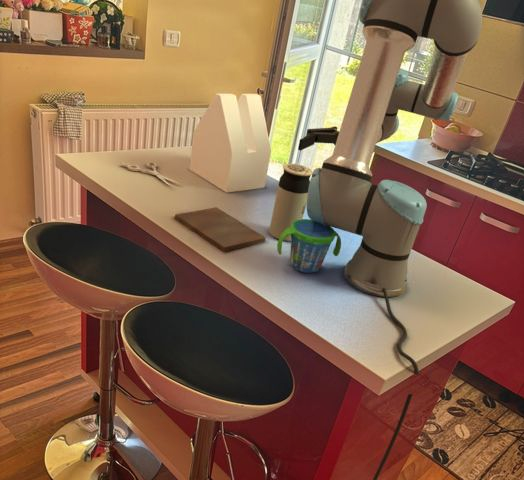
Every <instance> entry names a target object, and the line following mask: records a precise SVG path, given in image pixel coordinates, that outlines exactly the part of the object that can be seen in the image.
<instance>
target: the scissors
mask: <svg viewBox="0 0 524 480" xmlns="http://www.w3.org/2000/svg"><path fill="white" fill-rule="evenodd" d="M120 166H121V167H123V168H127V169H128V170H129V171H133V172H141V173H145V174H149V175H152V176H155V177H157V178H158V179H160V180H161V181H162V182H163V183H165V184H166V185H168V186H169V187H171V184H170V183H168V181H170V182H173V183H176V184H179V185H180V182H177V181H175V180H173V179H171V178H169V177H167V176H164V175H162V174H161V173H160V172H158V171H157V163H155V162H152V161H151V162H150V161H149V162H148V161H147V162H146V167H147V168H148V169H151V170H147V169H144V168H143V169H142V168H140V166H139V165H135V164H125V163H121V164H120ZM166 180H167V181H166Z"/></svg>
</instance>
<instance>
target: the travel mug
mask: <svg viewBox="0 0 524 480" xmlns="http://www.w3.org/2000/svg"><path fill="white" fill-rule="evenodd" d="M282 169H283V174H281V176H280V177H279V181H278V186H277V190H276V195H275V201H274V206H273V209H272V214H271V215H272V216H271V220H270V226H269V230H268V233H269V234H270V235H271V236H272V237H274V238H276V239H277V240H279V238H280V236H281V235H282V233H283V232H284V231H285V230H286V229H288V228H290V227H291V225H292V223H293V222H294V221H296V220H300V219H304V215H305V211H306V208H307V195H308V189H309V184H310V179H311V177H312V173H313V170H312V169H311V168H309V167H308V166H306V165H304V164H303V165H302V164H298V163H285V164H283V166H282ZM283 241H285V242H291V234H289V235H288V236H287V237H286V238H284V239H283Z"/></svg>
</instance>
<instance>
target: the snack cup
mask: <svg viewBox="0 0 524 480" xmlns="http://www.w3.org/2000/svg"><path fill="white" fill-rule="evenodd" d="M289 234H291V241H290V253H289V264H290V266H291V267H293V269H295V270H297V271H299V272H301V273H305V274H310V273H317V272H318V271H319V270H320V269H321V267H322V265H323V263H324V261H325V259H326V255H327V254H328V251H329V249H330V246H331V245H332V243H333V242H334V241H335V238H336V242H335V246H334V248H333V251H332V254H333V256H334V257H338V256H339V254H340V252H341V248H342V239H341V236H340V235H339V234H338V232H337V231H336V230H335V228H334V227H330V226H327V225H326V226H324V225H323V224H321V223H318V222H316V221H313V220H311V219H310V218H303V219H300V220H296V221H294V222H293V223H292V225H291V227H290V228H288V229H286V230H285V231H284V232H283V233H282V235H281V236H280V238H279V239H277V243H276V249H277V253H278V255H282V248H283V241H284V240H283V239H284V238H286V237H287V236H288V235H289Z"/></svg>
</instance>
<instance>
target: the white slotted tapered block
mask: <svg viewBox="0 0 524 480" xmlns="http://www.w3.org/2000/svg"><path fill="white" fill-rule="evenodd" d="M203 113H204V114H203V115H202V116H201V118H200V119H199V122H198V124H197V125H196V127H195V129H194V131H193V133H192V143H191V153H190V161H189V170H190V171H191V172H193V173H194V174H196V175H197V176H199V177H201V178H202V179H204V180H206V182H209V183H211V184H212V185H214V186H215V187H217V188H219V190H222V191H223V192H225V193H234V192H243V191H250V190H256V189H263V188H266V180H267V175H268V172H269V171H268V170H269V165H270V159H271V154H272V148H271V143H270V138H269V132H268V126H267V121H266V117H265V111H264V106H263V101H262V96H261V95H260V94H258V93H241V94H240V96H239V97H238V98H237V95H236V94H233V93H215V95H214V96H213V98H212V99H211V101H210V103H209V105H208V107H207V108H206V110H205V112H203Z"/></svg>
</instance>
